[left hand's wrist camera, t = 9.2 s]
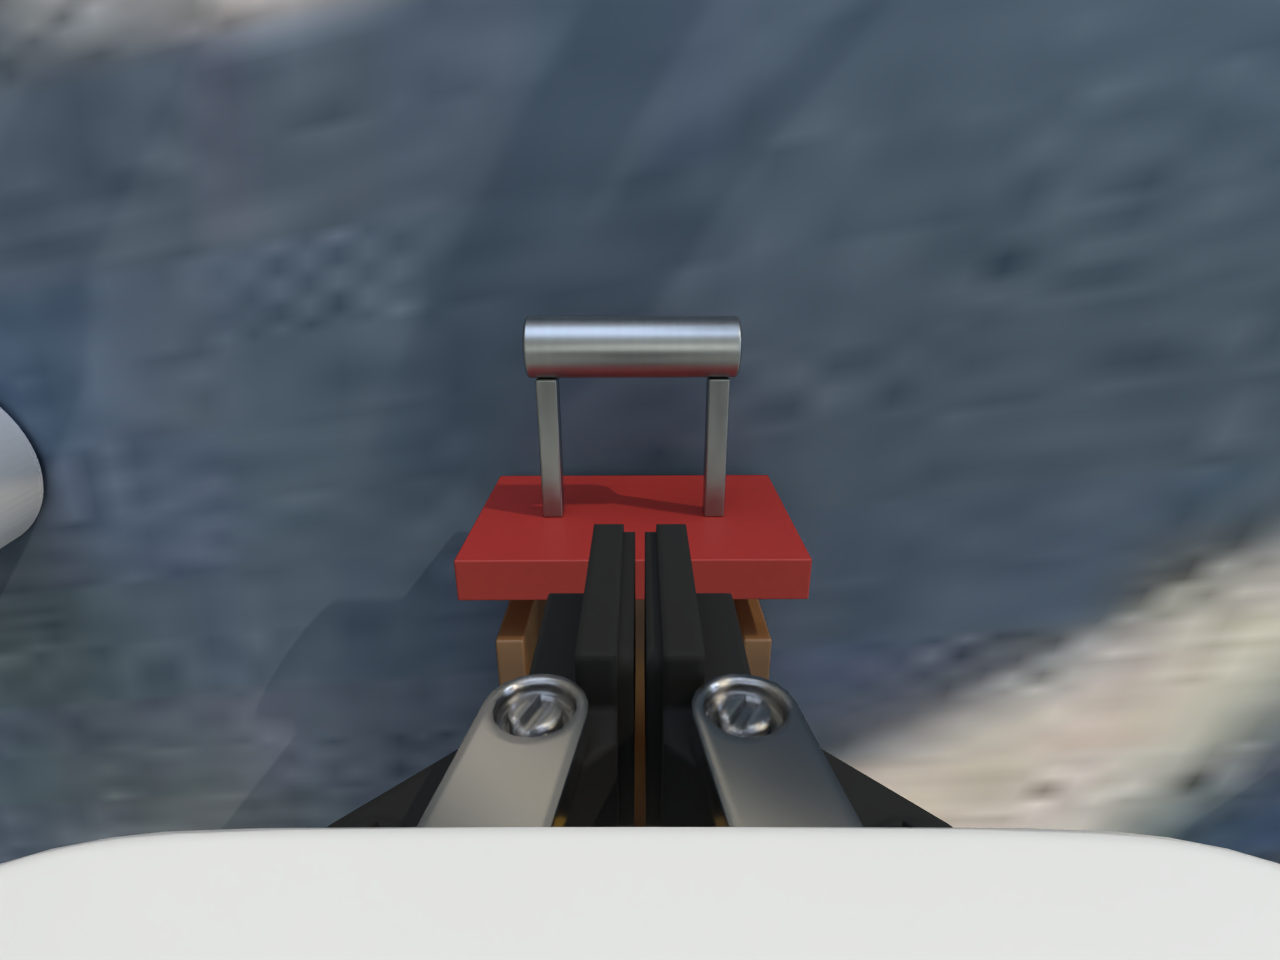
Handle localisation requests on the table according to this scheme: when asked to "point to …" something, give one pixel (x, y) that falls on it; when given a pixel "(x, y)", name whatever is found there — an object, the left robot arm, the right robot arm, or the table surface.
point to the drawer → (630, 499)
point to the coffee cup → (17, 481)
